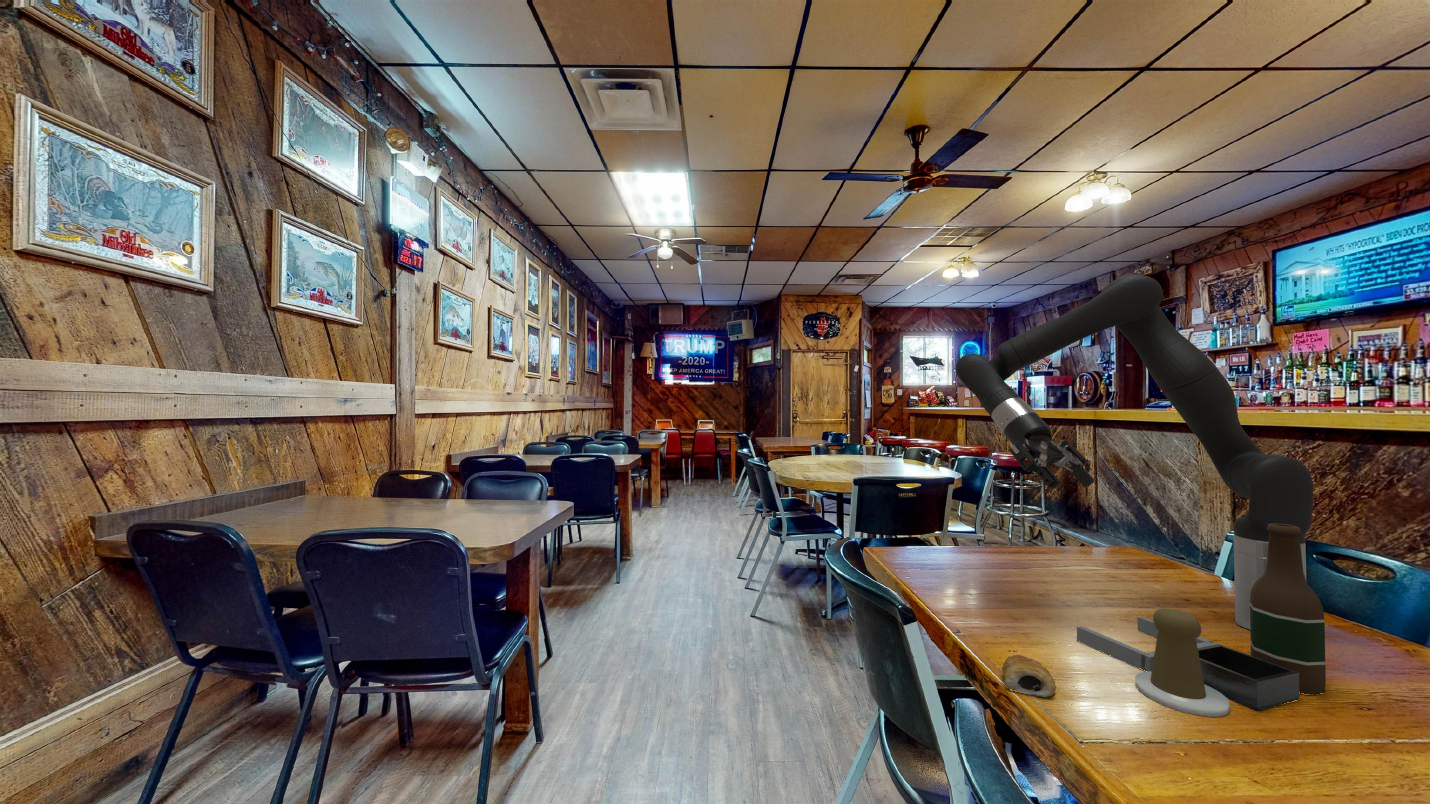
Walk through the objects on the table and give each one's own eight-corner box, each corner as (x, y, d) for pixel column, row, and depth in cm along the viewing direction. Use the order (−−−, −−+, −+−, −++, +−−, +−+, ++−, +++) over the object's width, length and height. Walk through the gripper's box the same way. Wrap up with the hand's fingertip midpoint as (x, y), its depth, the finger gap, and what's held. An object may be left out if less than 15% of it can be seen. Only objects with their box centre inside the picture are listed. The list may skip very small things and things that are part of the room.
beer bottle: (1317, 702, 71) (1313, 533, 72) (1241, 676, 78) (1238, 522, 79) (1334, 688, 75) (1331, 527, 76) (1260, 665, 82) (1257, 517, 82)
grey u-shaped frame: (1142, 629, 95) (1142, 616, 95) (1219, 659, 84) (1219, 644, 84) (1076, 640, 91) (1076, 626, 91) (1149, 673, 79) (1149, 657, 79)
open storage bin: (1219, 669, 81) (1219, 644, 81) (1299, 700, 72) (1299, 672, 72) (1179, 677, 78) (1179, 651, 78) (1257, 711, 69) (1257, 682, 69)
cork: (1218, 701, 70) (1216, 621, 70) (1167, 696, 71) (1166, 617, 71) (1187, 679, 76) (1185, 605, 76) (1140, 674, 77) (1139, 602, 77)
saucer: (1165, 673, 79) (1165, 667, 79) (1247, 709, 70) (1247, 702, 70) (1118, 683, 76) (1118, 676, 76) (1198, 722, 67) (1197, 714, 67)
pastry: (998, 664, 83) (998, 640, 83) (1046, 673, 80) (1046, 649, 80) (1005, 693, 74) (1005, 666, 74) (1059, 704, 71) (1059, 677, 71)
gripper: (1003, 411, 102) (1058, 474, 91) (1056, 411, 106) (1115, 471, 95) (983, 436, 107) (1032, 499, 96) (1034, 435, 111) (1087, 495, 100)
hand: (1073, 485), depth 95 cm, fingers open, 8 cm apart
